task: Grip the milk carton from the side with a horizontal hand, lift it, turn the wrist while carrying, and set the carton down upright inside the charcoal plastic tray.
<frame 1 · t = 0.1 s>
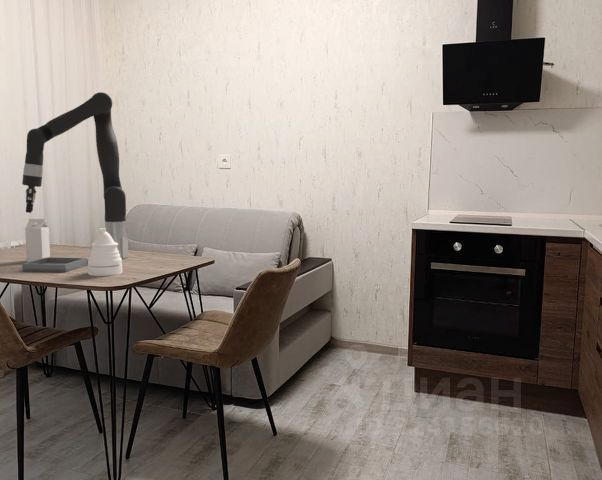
hand: (29, 211, 242), 22 cm above the table, tool pointing down, fingers open, 8 cm apart
charcoal tray: (56, 267, 230), on the table
honey pot: (105, 273, 220), on the table
milk carton: (38, 261, 248), on the table
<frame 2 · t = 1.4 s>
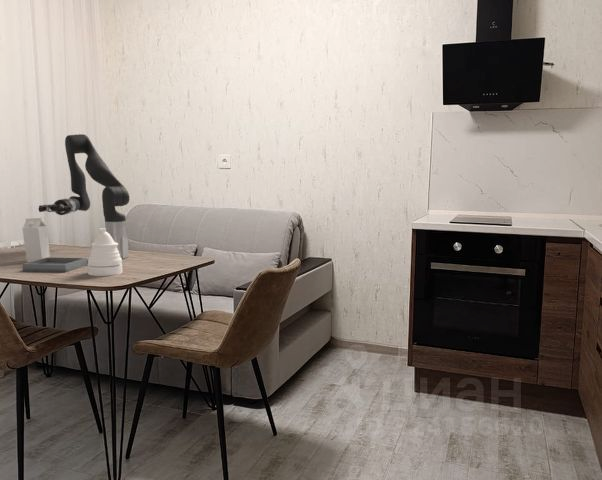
hand: (48, 210, 255), 22 cm above the table, tool horizontal, fingers open, 8 cm apart
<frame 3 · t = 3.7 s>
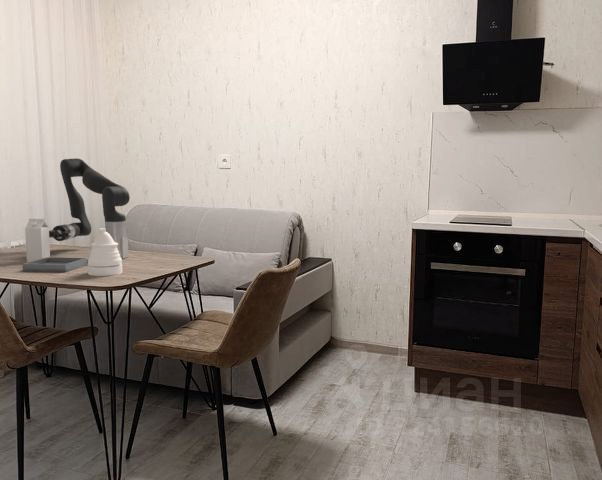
hand: (45, 236, 253), 11 cm above the table, tool horizontal, fingers open, 8 cm apart
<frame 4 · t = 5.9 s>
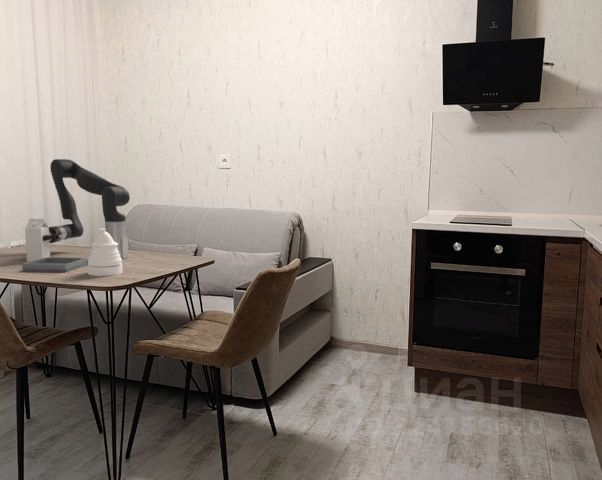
hand: (35, 238, 244), 11 cm above the table, tool horizontal, fingers closed on milk carton, 7 cm apart
milk carton: (38, 261, 248), on the table, touching gripper
everything else where it was.
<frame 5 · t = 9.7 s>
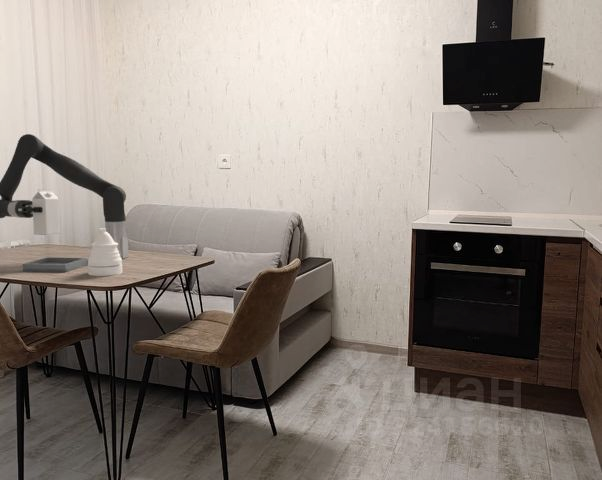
hand: (49, 209, 230), 24 cm above the table, tool horizontal, fingers closed on milk carton, 7 cm apart
milk carton: (46, 235, 231), point 13 cm above the table, touching gripper
everything else where it was.
when the fingers open (13 cm above the table, at t = 13.4 s): milk carton drops 1 cm, resting on charcoal tray.
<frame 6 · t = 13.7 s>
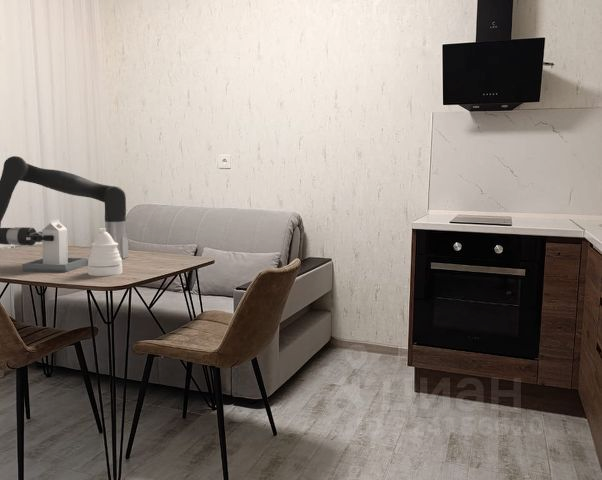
hand: (59, 237, 229), 13 cm above the table, tool horizontal, fingers open, 8 cm apart
milk carton: (55, 265, 230), point 1 cm above the table, touching charcoal tray
everything else where it was.
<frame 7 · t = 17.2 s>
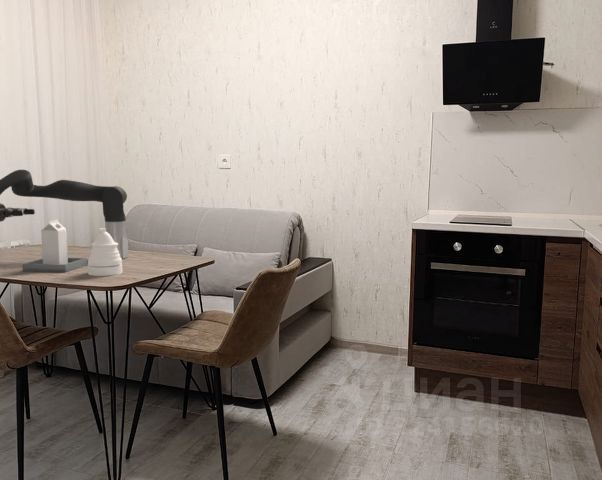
hand: (28, 212, 228), 23 cm above the table, tool horizontal, fingers open, 8 cm apart
nothing on the table moved.
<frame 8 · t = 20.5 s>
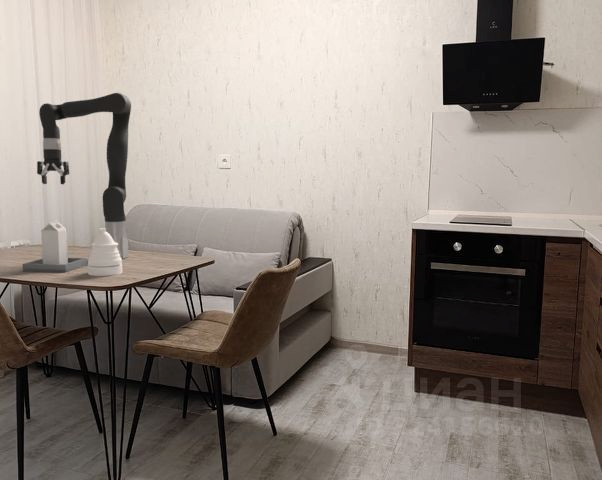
hand: (53, 184, 255), 34 cm above the table, tool pointing down, fingers open, 8 cm apart
nothing on the table moved.
at the end: milk carton inside the target area on the charcoal tray (0.1 cm from its centre), point 0.8 cm above the charcoal tray's base; milk carton tilted 0°; the gripper is holding nothing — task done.
